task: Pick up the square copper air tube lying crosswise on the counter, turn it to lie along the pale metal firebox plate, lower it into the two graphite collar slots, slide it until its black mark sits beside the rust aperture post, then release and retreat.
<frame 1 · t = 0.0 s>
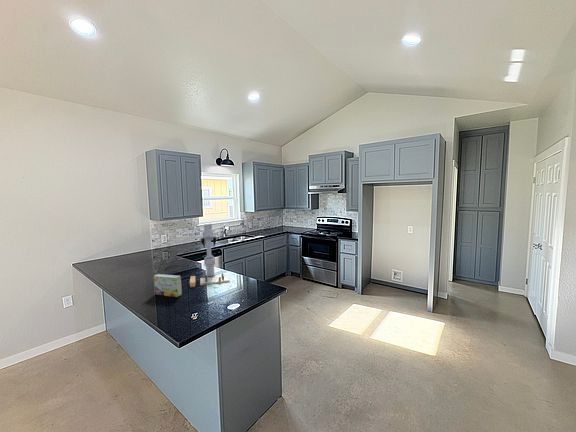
hand: (209, 246, 219), 32 cm above the table, tool tilted 50°, fingers open, 7 cm apart
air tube: (192, 283, 224), on the table
firebox plate: (214, 280, 230), on the table
snack box: (168, 295, 200), on the table
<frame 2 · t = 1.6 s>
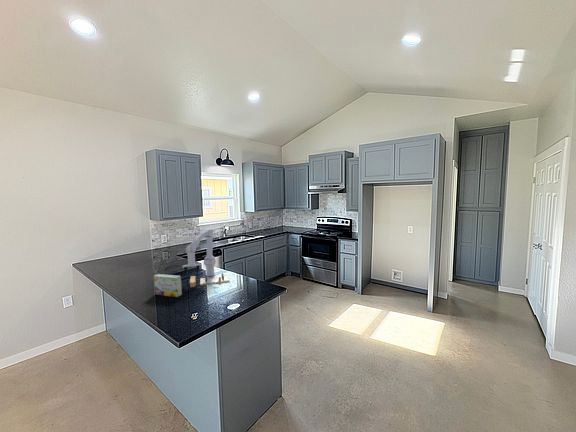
hand: (192, 275, 223), 7 cm above the table, tool pointing down, fingers open, 7 cm apart
nothing on the table moved.
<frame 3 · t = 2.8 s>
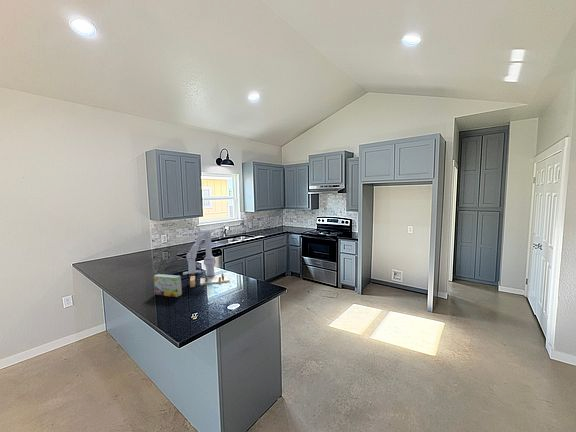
hand: (192, 282, 224), 1 cm above the table, tool pointing down, fingers closed on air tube, 4 cm apart
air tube: (192, 283, 224), on the table, touching gripper
everything else where it was.
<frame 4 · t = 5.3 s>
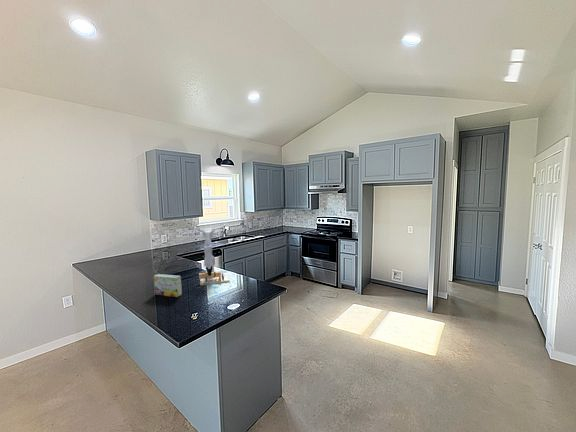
hand: (209, 275, 228), 6 cm above the table, tool pointing down, fingers closed on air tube, 4 cm apart
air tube: (210, 277, 228), point 4 cm above the table, touching gripper
everything else where it was.
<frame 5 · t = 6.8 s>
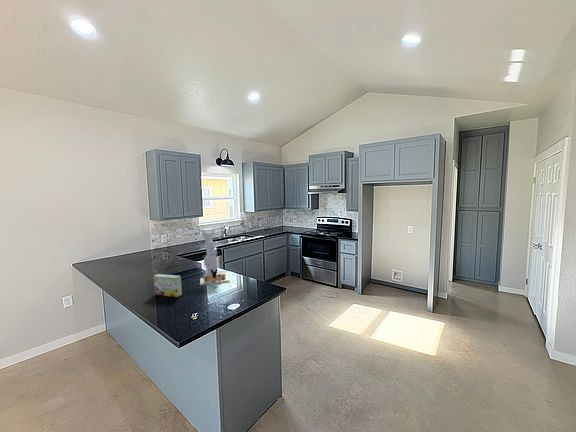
hand: (214, 277, 229), 3 cm above the table, tool pointing down, fingers closed on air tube, 4 cm apart
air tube: (214, 279, 230), point 2 cm above the table, touching gripper
everything else where it was.
when the fingers open (3 cm above the table, at t = 7.9 s): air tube stays where it is, resting on firebox plate.
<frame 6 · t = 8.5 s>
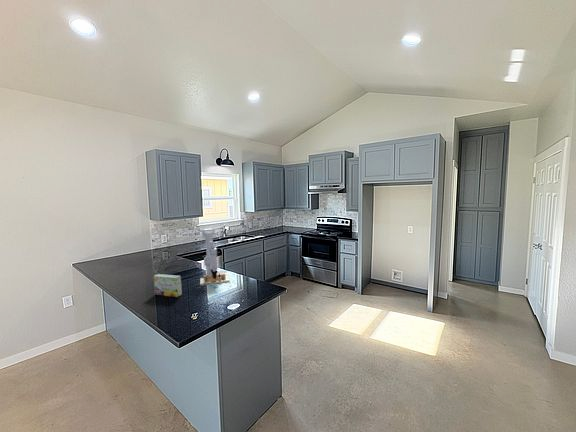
hand: (214, 277, 229), 3 cm above the table, tool pointing down, fingers open, 7 cm apart
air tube: (215, 279, 230), point 2 cm above the table, touching firebox plate
everything else where it was.
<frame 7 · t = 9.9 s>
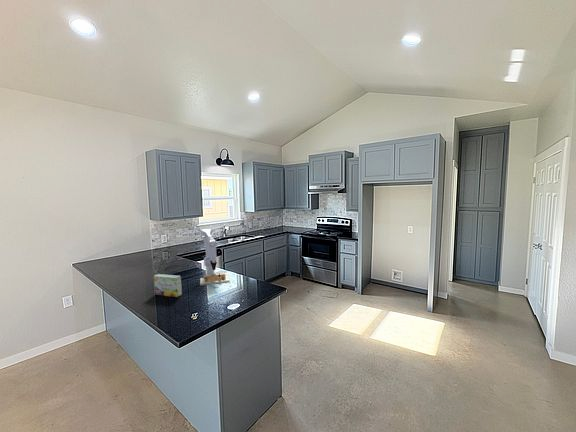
hand: (213, 268, 234), 9 cm above the table, tool pointing down, fingers open, 7 cm apart
nothing on the table moved.
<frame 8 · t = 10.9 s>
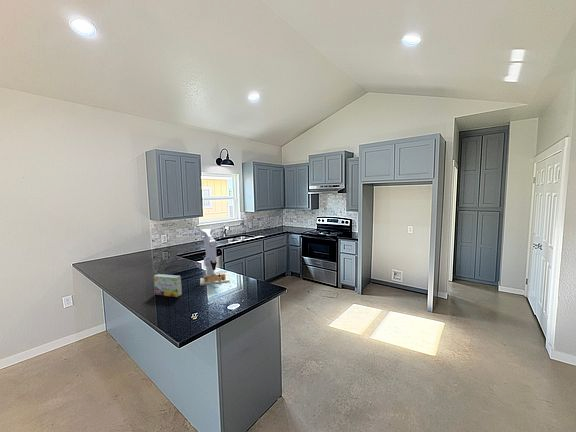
hand: (213, 268, 234), 9 cm above the table, tool pointing down, fingers open, 7 cm apart
nothing on the table moved.
at the end: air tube 0.3 cm off-centre on the firebox plate, point 1.5 cm above the firebox plate's base; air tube touching firebox plate; the gripper is holding nothing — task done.
